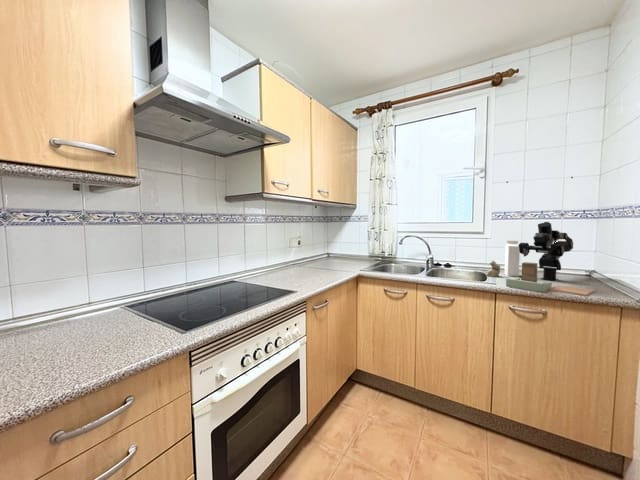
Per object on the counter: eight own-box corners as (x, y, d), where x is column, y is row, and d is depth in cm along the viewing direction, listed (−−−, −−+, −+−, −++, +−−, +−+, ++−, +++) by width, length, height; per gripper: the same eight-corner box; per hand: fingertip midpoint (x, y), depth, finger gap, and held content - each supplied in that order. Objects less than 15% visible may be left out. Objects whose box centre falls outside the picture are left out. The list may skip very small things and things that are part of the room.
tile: (558, 286, 137) (558, 285, 137) (593, 291, 126) (593, 290, 126) (549, 290, 130) (549, 288, 130) (586, 296, 119) (586, 294, 119)
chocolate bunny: (501, 277, 162) (501, 261, 161) (486, 276, 165) (486, 260, 165) (499, 275, 167) (500, 260, 166) (485, 274, 170) (485, 259, 170)
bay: (516, 282, 147) (517, 275, 146) (551, 287, 134) (551, 280, 134) (506, 286, 139) (506, 278, 139) (541, 292, 127) (541, 283, 127)
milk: (504, 274, 171) (505, 240, 170) (515, 274, 169) (516, 240, 168) (507, 276, 165) (508, 241, 164) (519, 276, 163) (520, 241, 162)
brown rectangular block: (525, 285, 141) (525, 262, 140) (536, 287, 136) (537, 263, 136) (521, 286, 138) (522, 263, 137) (532, 288, 134) (533, 264, 133)
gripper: (522, 229, 152) (511, 242, 145) (565, 230, 137) (555, 244, 129) (525, 246, 156) (514, 259, 148) (567, 249, 140) (558, 263, 133)
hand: (534, 256), depth 140 cm, fingers open, 9 cm apart
